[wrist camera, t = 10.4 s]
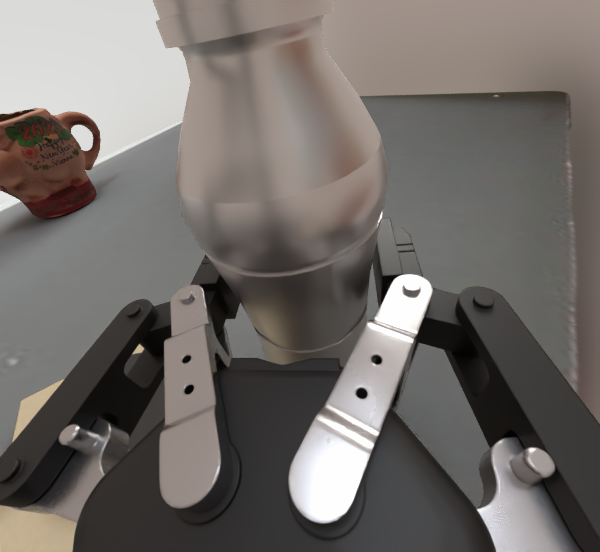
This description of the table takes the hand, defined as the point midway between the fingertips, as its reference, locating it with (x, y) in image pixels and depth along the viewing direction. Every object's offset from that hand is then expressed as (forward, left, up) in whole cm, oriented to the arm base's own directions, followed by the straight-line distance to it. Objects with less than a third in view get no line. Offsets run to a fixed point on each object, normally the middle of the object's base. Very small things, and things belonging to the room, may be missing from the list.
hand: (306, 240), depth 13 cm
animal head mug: (-19, +51, -11) cm, 56 cm away
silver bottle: (-1, -2, -11) cm, 11 cm away
